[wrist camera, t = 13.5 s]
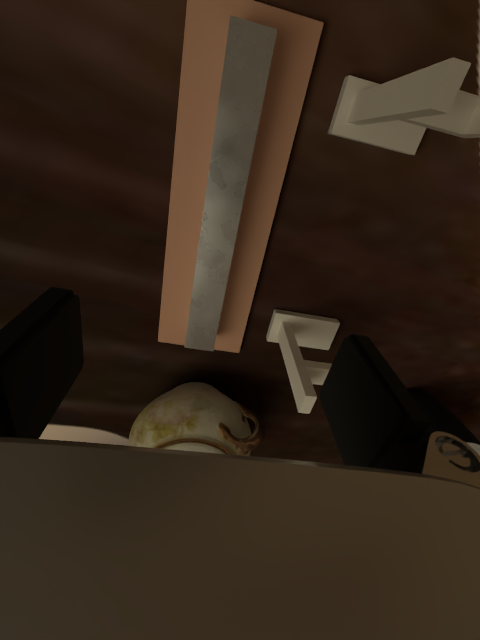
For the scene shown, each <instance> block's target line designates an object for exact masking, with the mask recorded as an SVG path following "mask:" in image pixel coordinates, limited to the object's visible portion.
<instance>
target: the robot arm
mask: <svg viewBox="0 0 480 640" xmlns="http://www.w3.org/2000/svg"><path fill="white" fill-rule="evenodd" d="M83 362H84V357H83V343H82V329H81V315H80V301H79V297H78V296H77V295H74V293H73V291H72V290H68V289H62V288H56V287H51V288H49V289H48V290H47V291H46V292H45V293H43V294H42V295H41V296H40V297H39V298H37V299H36V300H35V301H34V302H33V303H32V304H30V305H29V306H28V307H27V308H26V309H24V310H23V311H22V312H21V313H20V314H19V315H17V316H16V317H15V318H14V319H13V320H11V321H10V322H9V323H8V324H7V325H6V326H4V327H3V328H2V329H1V330H0V640H480V455H479V454H478V453H477V452H476V451H475V450H474V449H473V448H472V447H471V446H469V445H468V444H467V443H466V442H464V441H463V440H461V439H459V438H458V437H456V436H454V435H452V434H449V433H445V432H438V431H436V432H434V433H432V434H430V432H429V431H428V427H429V426H430V425H431V423H432V422H431V421H430V420H429V418H428V417H427V416H426V414H425V413H424V412H423V410H422V409H421V408H420V406H419V405H418V403H417V402H416V401H415V399H414V398H413V397H412V395H411V394H410V393H409V391H408V390H407V389H406V387H405V386H404V385H403V383H402V382H401V380H400V379H399V378H398V376H397V375H396V374H395V372H394V371H393V370H392V368H391V367H390V366H389V364H388V363H387V361H386V360H385V359H384V357H383V356H382V355H381V353H380V352H379V351H378V349H377V348H376V347H375V345H374V344H373V343H372V341H371V340H370V338H368V337H367V336H361V335H354V334H352V335H350V336H349V337H346V338H345V339H344V340H343V342H342V344H341V346H340V349H339V351H338V353H337V355H336V357H335V359H334V361H333V364H332V366H331V368H330V370H329V372H328V374H327V377H326V379H325V381H324V383H323V385H322V387H321V390H320V401H321V403H322V406H323V409H324V411H325V414H326V417H327V419H328V422H329V425H330V427H331V430H332V433H333V435H334V438H335V441H336V443H337V446H338V449H339V451H340V454H341V457H342V460H343V462H344V465H339V464H328V463H318V462H307V461H296V460H286V459H275V458H264V457H252V456H241V455H230V454H218V453H207V452H195V451H184V450H172V449H160V448H148V447H136V446H124V445H110V444H99V443H87V442H73V441H59V440H44V439H39V437H40V436H41V434H42V432H43V431H44V429H45V428H46V426H47V424H48V423H49V421H50V420H51V418H52V416H53V415H54V413H55V412H56V410H57V408H58V407H59V405H60V403H61V402H62V400H63V399H64V397H65V395H66V394H67V392H68V391H69V389H70V387H71V386H72V384H73V383H74V381H75V379H76V378H77V376H78V374H79V373H80V371H81V369H82V367H83Z"/></svg>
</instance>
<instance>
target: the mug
mask: <svg viewBox="0 0 480 640" xmlns="http://www.w3.org/2000/svg"><path fill="white" fill-rule="evenodd" d="M407 390H408V391H409V393H410V394H411V395H412V397H413V398H414V399H415V401H416V402H417V403H418V405H419V406H420V408H421V409H422V410H423V412H424V413H425V414H426V416H427V417H428V418H429V420H430V421H431V422H432V423H431V425H430V426H429V427H428V431H429V432H430V434H432V433H434V432H436V431H438V432H445V433H449V434H452V435H454V436H456V437H458V438H459V439H461V440H463V441H464V442H466V443H467V444H468V445H469V446H471V447H472V448H473V449H474V450H475V451H476V452H477V453H478V454H479V455H480V442H479V440H478V439H477V438H476V437H475V436H474V435H473V434H472V433H471V432H470V431H469V429H468V428H467V427H466V426H465V425H464V424H463V423H462V422H461V421H460V420H459V419H458V418H457V417H456V416H455V415H454V414H453V413H452V412H451V411H450V410H448V409H447V408H446V407H445V406H444V405H443V404H442V403H441V402H439V401H438V400H437V399H436V398H434V397H433V396H432V395H430V394H428V393H427V392H424V391H422V390H419V389H407Z"/></svg>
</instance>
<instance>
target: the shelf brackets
mask: <svg viewBox="0 0 480 640" xmlns="http://www.w3.org/2000/svg"><path fill="white" fill-rule="evenodd" d="M470 65H471V63H469V62H466V61H463V60H460V59H456V58H450V59H447V60H445V61H442V62H439V63H437V64H434V65H431V66H429V67H426V68H423V69H421V70H418V71H415V72H413V73H410V74H407V75H405V76H402V77H399V78H397V79H394V80H391V81H389V82H386V83H383V84H378V83H374V82H371V81H367V80H364V79H361V78H357V77H354V76H350V75H348V76H347V77H345V78H344V82H343V85H342V88H341V92H340V95H339V98H338V102H337V105H336V108H335V111H334V115H333V118H332V121H331V125H330V128H329V131H328V134H331V135H335V136H339V137H343V138H346V139H350V140H354V141H358V142H362V143H366V144H369V145H373V146H377V147H381V148H385V149H389V150H393V151H396V152H400V153H404V154H408V155H415V153H416V150H417V148H418V146H419V144H420V141H421V139H422V137H423V134H424V132H425V130H426V128H429V129H433V130H436V131H440V132H444V133H447V134H451V135H454V136H458V137H462V138H477V137H480V96H478V95H474V94H471V93H468V92H464V91H461V90H459V89H460V87H461V85H462V82H463V80H464V78H465V76H466V74H467V72H468V70H469V67H470ZM339 325H340V322H339V321H338V319H333V318H327V317H321V316H315V315H309V314H303V313H297V312H291V311H284V310H278V309H274V313H273V316H272V319H271V322H270V326H269V329H268V332H267V336H266V338H267V341H270V342H277V343H279V344H280V347H281V351H282V355H283V358H284V362H285V365H286V369H287V373H288V376H289V380H290V384H291V387H292V391H293V394H294V398H295V402H296V405H297V409H298V413H307V414H310V411H311V409H312V407H313V405H314V403H315V401H316V398H317V396H316V393H315V390H314V388H313V385H312V384H318V385H323V383H324V381H325V379H326V377H327V374H328V372H329V370H330V368H331V366H332V364H329V363H322V362H315V361H308V360H303V357H302V355H301V352H300V349H299V347H298V346H304V347H310V348H317V349H324V350H329V348H330V345H331V343H332V341H333V339H334V336H335V334H336V332H337V330H338V327H339Z"/></svg>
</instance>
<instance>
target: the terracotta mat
mask: <svg viewBox="0 0 480 640" xmlns="http://www.w3.org/2000/svg"><path fill="white" fill-rule="evenodd" d="M230 15H232V16H235V17H238V18H242V19H245V20H248V21H251V22H255V23H258V24H261V25H265V26H268V27H271V28H275V29H278V30H277V35H276V40H275V45H274V50H273V55H272V60H271V65H270V70H269V75H268V80H267V85H266V90H265V95H264V100H263V105H262V110H261V115H260V120H259V125H258V130H257V135H256V140H255V145H254V150H253V155H252V160H251V165H250V170H249V175H248V180H247V185H246V190H245V195H244V200H243V205H242V210H241V215H240V220H239V225H238V230H237V235H236V240H235V245H234V250H233V255H232V260H231V265H230V270H229V275H228V281H227V286H226V291H225V296H224V301H223V306H222V311H221V316H220V321H219V326H218V331H217V336H216V341H215V346H214V349H215V350H222V351H229V352H236V353H239V351H240V347H241V343H242V339H243V335H244V331H245V328H246V324H247V320H248V316H249V312H250V308H251V304H252V300H253V296H254V292H255V289H256V285H257V281H258V277H259V273H260V269H261V265H262V261H263V257H264V254H265V250H266V246H267V242H268V238H269V234H270V230H271V226H272V222H273V219H274V215H275V211H276V207H277V203H278V199H279V195H280V191H281V187H282V184H283V180H284V176H285V172H286V168H287V164H288V160H289V156H290V152H291V148H292V145H293V141H294V137H295V133H296V129H297V125H298V121H299V117H300V113H301V110H302V106H303V102H304V98H305V94H306V90H307V86H308V82H309V78H310V75H311V71H312V67H313V63H314V59H315V55H316V51H317V47H318V43H319V40H320V36H321V32H322V28H323V24H324V23H323V22H320V21H317V20H314V19H311V18H307V17H304V16H301V15H298V14H295V13H292V12H289V11H285V10H282V9H279V8H276V7H273V6H270V5H266V4H263V3H260V2H257V1H254V0H187V10H186V22H185V33H184V45H183V56H182V68H181V80H180V91H179V103H178V114H177V126H176V138H175V149H174V161H173V172H172V184H171V196H170V207H169V219H168V230H167V242H166V254H165V265H164V277H163V288H162V300H161V312H160V323H159V335H158V342H165V343H172V344H180V345H185V340H186V333H187V325H188V318H189V311H190V304H191V296H192V289H193V282H194V275H195V268H196V260H197V253H198V246H199V239H200V231H201V224H202V217H203V210H204V203H205V195H206V188H207V181H208V174H209V166H210V159H211V152H212V145H213V138H214V130H215V123H216V116H217V109H218V101H219V94H220V87H221V80H222V73H223V65H224V58H225V51H226V44H227V36H228V29H229V22H230Z"/></svg>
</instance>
